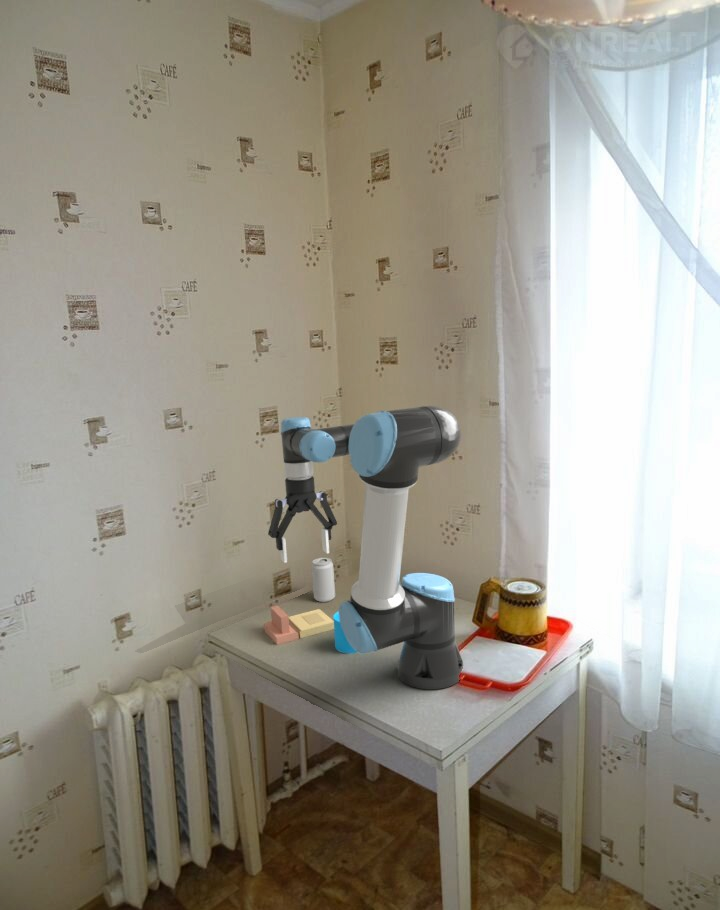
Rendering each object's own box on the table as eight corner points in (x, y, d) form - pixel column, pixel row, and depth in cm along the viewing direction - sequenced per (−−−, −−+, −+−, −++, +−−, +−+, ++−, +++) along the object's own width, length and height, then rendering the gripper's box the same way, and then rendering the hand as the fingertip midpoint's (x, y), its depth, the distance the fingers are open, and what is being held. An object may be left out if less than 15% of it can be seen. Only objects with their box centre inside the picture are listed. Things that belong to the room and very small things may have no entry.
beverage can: (339, 596, 202) (337, 558, 200) (327, 604, 197) (324, 565, 194) (322, 593, 205) (319, 555, 203) (309, 600, 200) (306, 562, 198)
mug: (370, 650, 168) (368, 620, 166) (338, 655, 166) (336, 624, 165) (360, 630, 180) (359, 601, 178) (330, 634, 178) (328, 605, 176)
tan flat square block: (334, 628, 181) (334, 621, 180) (300, 638, 176) (299, 630, 176) (319, 615, 190) (319, 608, 189) (286, 624, 185) (286, 617, 185)
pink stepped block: (298, 638, 176) (296, 615, 175) (277, 644, 174) (275, 621, 172) (284, 624, 185) (283, 602, 184) (264, 630, 182) (262, 607, 181)
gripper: (334, 467, 184) (339, 544, 188) (251, 481, 173) (258, 561, 177) (346, 472, 177) (351, 551, 181) (260, 486, 167) (267, 570, 171)
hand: (305, 556), depth 179 cm, fingers open, 11 cm apart
